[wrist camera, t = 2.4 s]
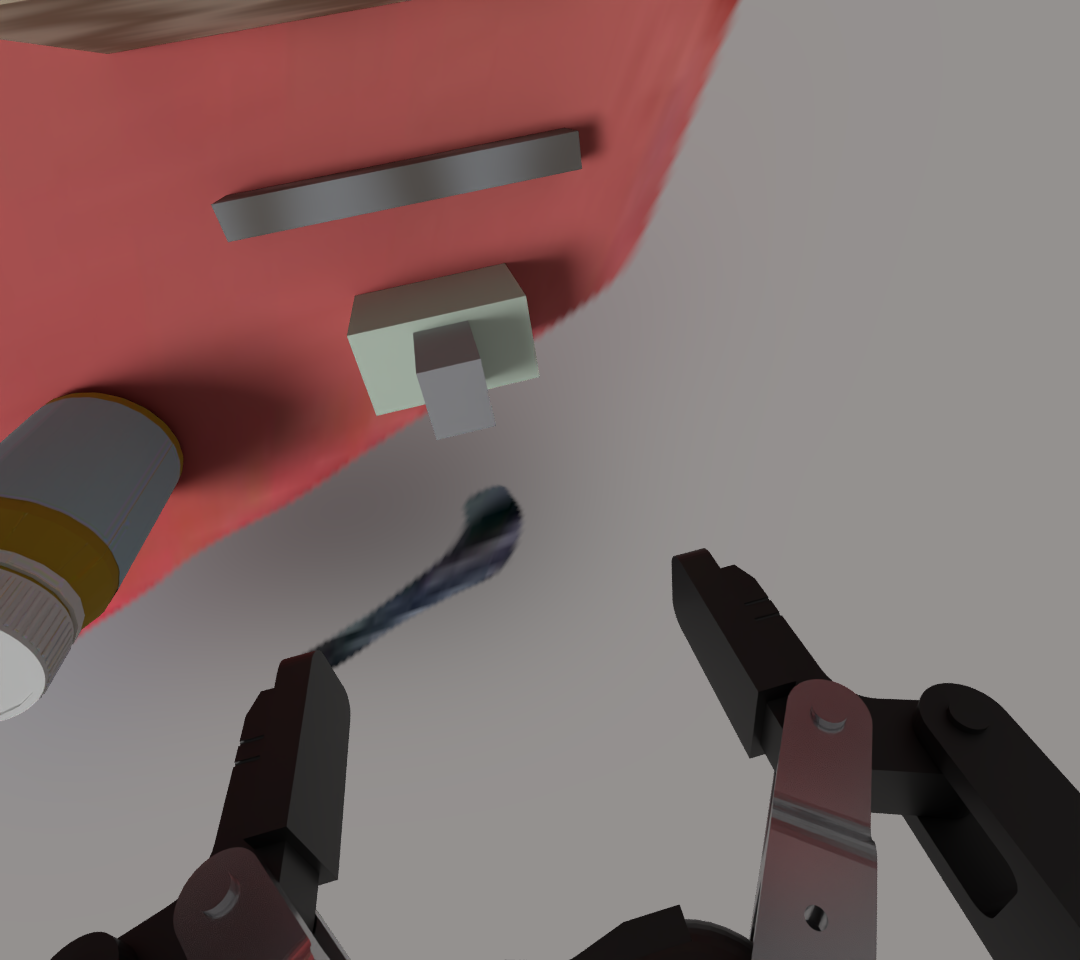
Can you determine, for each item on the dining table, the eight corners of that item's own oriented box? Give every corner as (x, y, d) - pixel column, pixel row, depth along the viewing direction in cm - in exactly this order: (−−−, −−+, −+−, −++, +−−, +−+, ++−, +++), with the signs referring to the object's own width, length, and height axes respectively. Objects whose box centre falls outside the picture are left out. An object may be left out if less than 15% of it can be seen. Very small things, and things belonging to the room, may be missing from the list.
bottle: (134, 369, 29) (-53, 568, 17) (212, 475, 33) (107, 696, 21) (0, 411, 29) (-287, 642, 17) (96, 512, 33) (-78, 757, 21)
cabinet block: (379, 366, 32) (373, 466, 23) (354, 295, 29) (338, 378, 21) (517, 334, 32) (561, 420, 24) (504, 263, 30) (548, 330, 21)
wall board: (197, 239, 26) (83, 325, 17) (75, -13, 21) (-197, -103, 11) (607, 155, 28) (719, 188, 18) (588, -99, 23) (733, -240, 13)
